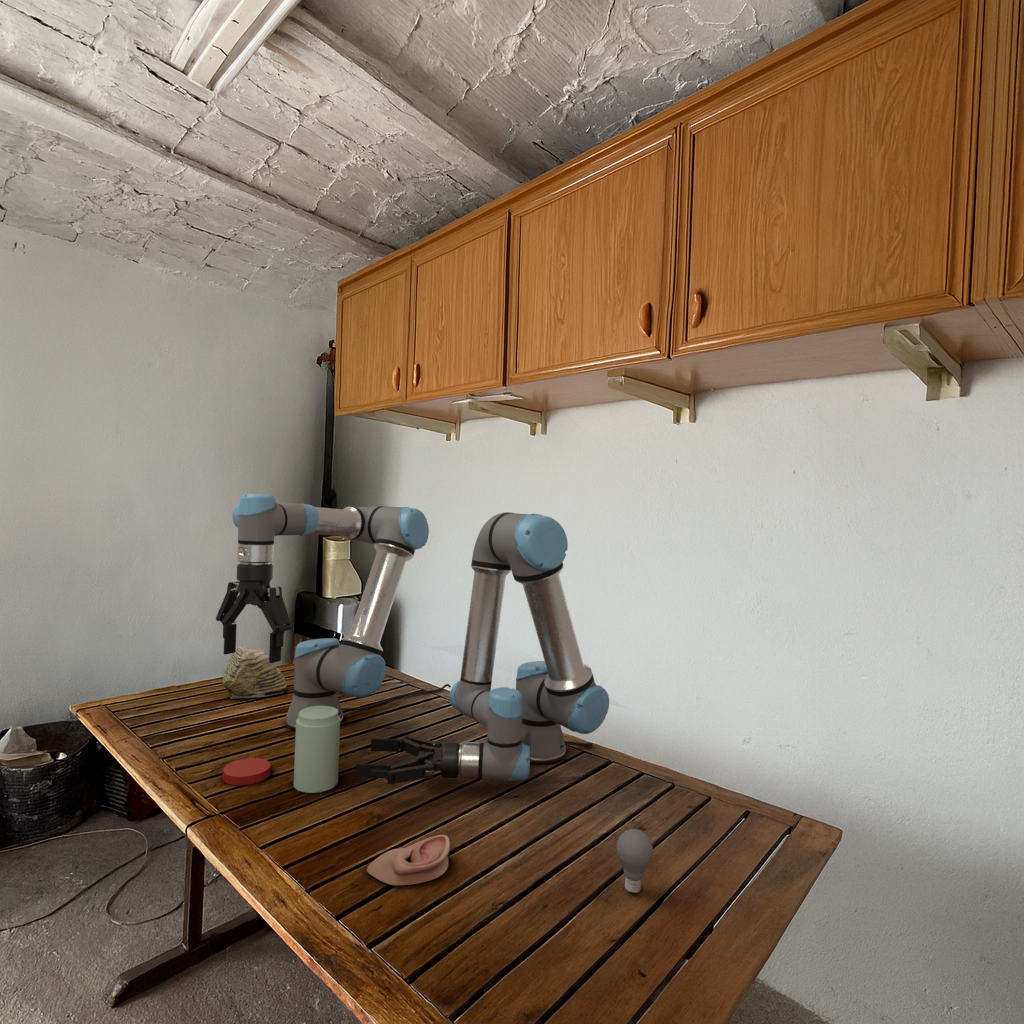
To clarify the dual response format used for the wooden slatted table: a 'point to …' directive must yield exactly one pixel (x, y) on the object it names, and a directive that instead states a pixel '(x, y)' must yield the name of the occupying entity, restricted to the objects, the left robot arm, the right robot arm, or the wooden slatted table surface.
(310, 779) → the jar
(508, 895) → the wooden slatted table surface
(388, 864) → the anatomical model
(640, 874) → the light bulb
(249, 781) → the lid
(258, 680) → the fossil
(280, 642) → the left robot arm
